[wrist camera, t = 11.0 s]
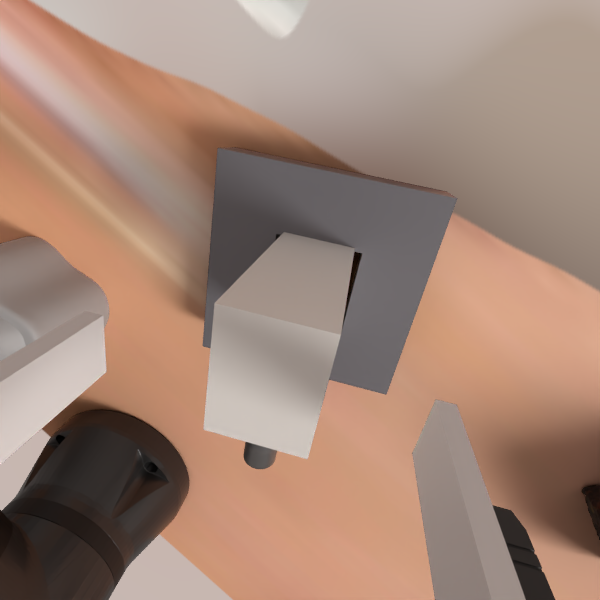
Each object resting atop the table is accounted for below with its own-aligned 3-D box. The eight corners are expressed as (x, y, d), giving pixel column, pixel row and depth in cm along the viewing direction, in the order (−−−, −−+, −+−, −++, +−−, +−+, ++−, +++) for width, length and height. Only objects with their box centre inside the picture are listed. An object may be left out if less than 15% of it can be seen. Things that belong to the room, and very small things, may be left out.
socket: (218, 327, 30) (198, 351, 26) (235, 147, 24) (212, 148, 20) (384, 370, 28) (386, 401, 25) (447, 191, 23) (460, 200, 19)
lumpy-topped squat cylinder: (123, 305, 31) (39, 361, 23) (62, 385, 36) (-23, 452, 28) (21, 219, 29) (-106, 247, 21) (-27, 315, 34) (-143, 366, 27)
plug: (328, 348, 28) (294, 506, 16) (273, 334, 29) (199, 478, 16) (356, 238, 24) (340, 335, 12) (292, 223, 25) (214, 303, 12)
